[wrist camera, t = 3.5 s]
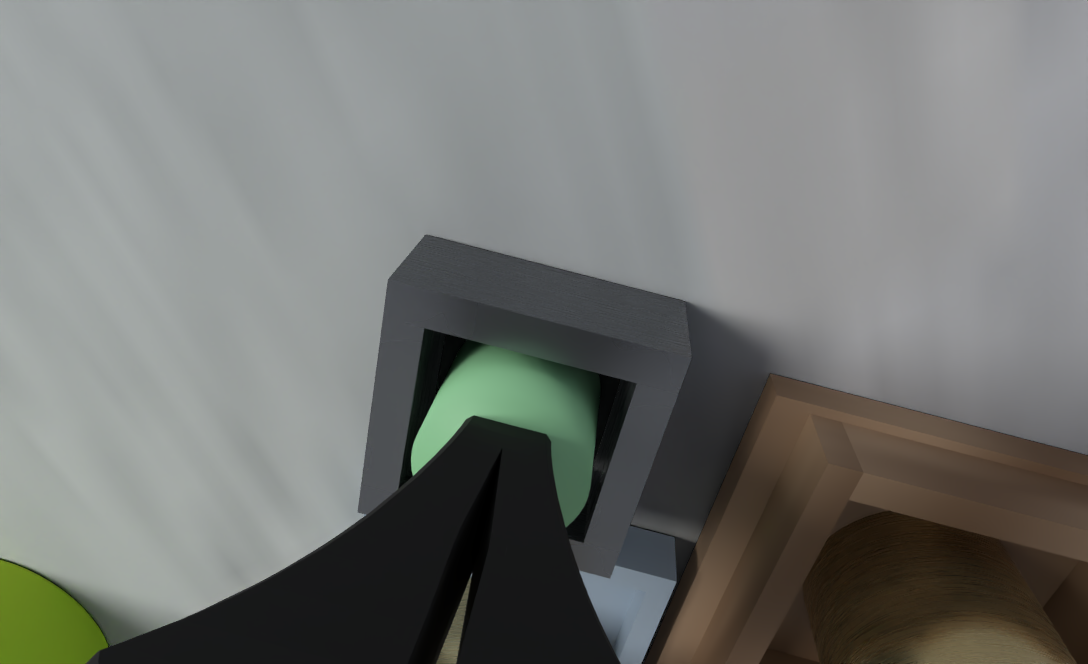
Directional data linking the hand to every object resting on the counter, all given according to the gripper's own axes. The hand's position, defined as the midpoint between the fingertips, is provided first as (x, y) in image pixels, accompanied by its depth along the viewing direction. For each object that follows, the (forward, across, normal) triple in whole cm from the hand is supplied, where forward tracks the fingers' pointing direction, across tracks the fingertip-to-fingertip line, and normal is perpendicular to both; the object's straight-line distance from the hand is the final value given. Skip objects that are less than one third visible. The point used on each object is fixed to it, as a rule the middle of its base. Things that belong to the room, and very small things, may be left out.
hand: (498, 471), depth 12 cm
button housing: (+3, 0, 0) cm, 3 cm away
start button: (+3, 0, 0) cm, 3 cm away
